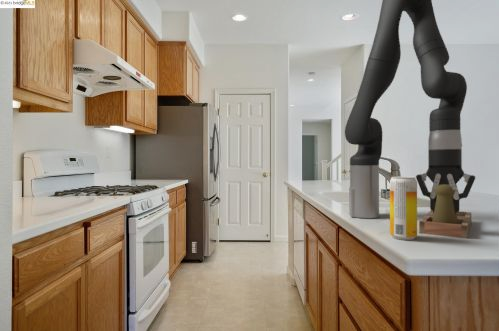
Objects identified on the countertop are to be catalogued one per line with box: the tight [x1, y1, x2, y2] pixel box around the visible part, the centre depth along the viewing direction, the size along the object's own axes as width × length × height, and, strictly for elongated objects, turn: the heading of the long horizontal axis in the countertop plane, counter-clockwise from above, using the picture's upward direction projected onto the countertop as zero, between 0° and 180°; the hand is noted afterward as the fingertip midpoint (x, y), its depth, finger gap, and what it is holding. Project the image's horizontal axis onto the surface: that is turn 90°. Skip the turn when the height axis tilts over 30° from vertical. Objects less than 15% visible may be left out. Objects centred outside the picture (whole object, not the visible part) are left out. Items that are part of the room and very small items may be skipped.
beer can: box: [389, 175, 418, 241], centre depth 80 cm, size 6×6×15 cm
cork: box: [432, 184, 458, 224], centre depth 86 cm, size 6×6×11 cm
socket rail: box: [418, 209, 472, 239], centre depth 91 cm, size 23×10×3 cm, turn 144°
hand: (444, 212), depth 86 cm, fingers closed on cork, 4 cm apart
